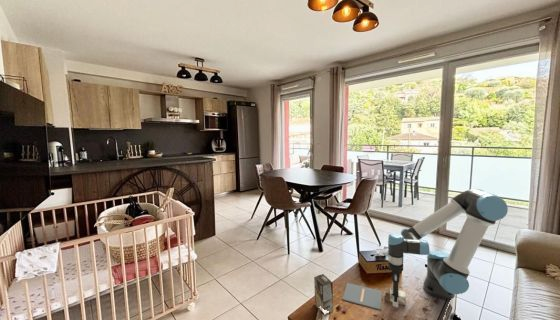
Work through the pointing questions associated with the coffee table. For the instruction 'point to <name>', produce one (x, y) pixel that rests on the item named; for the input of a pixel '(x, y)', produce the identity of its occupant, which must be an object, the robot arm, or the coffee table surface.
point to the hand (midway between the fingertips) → (395, 298)
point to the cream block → (400, 293)
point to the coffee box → (323, 292)
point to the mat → (363, 296)
